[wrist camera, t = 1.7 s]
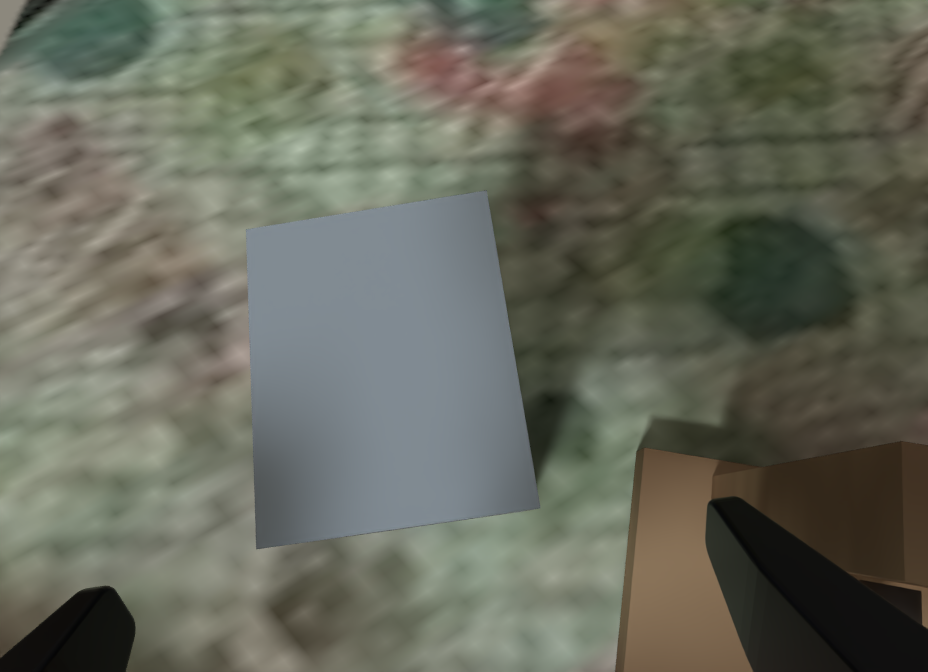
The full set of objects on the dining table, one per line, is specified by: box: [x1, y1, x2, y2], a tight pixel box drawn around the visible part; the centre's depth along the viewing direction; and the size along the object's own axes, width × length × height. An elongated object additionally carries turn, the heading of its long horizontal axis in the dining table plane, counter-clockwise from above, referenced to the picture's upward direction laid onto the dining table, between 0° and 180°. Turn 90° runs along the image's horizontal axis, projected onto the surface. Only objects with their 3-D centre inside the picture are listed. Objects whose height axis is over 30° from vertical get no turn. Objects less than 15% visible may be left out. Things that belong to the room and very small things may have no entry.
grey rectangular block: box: [246, 190, 540, 549], centre depth 14 cm, size 5×4×11 cm
